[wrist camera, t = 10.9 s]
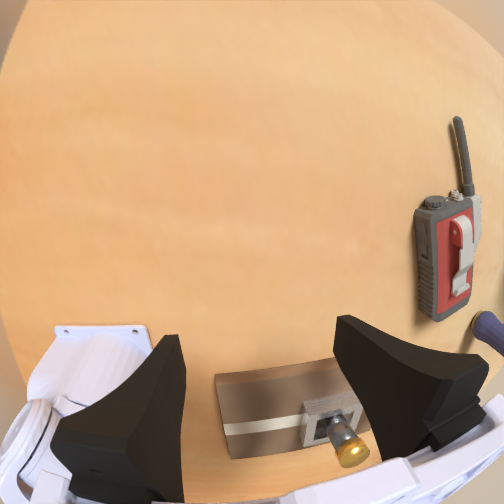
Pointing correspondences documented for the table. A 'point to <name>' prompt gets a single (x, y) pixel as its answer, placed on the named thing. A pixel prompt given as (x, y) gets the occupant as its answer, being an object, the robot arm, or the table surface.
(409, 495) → the robot arm
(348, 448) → the gold-capped cylinder
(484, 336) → the rubber mallet
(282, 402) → the board
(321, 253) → the table surface
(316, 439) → the pilot socket
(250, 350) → the table surface
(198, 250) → the table surface
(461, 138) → the walkie-talkie
